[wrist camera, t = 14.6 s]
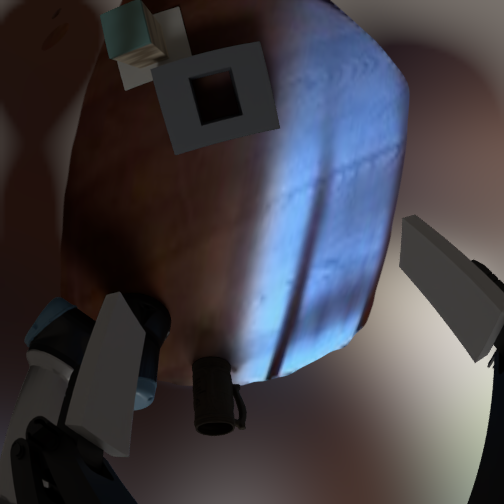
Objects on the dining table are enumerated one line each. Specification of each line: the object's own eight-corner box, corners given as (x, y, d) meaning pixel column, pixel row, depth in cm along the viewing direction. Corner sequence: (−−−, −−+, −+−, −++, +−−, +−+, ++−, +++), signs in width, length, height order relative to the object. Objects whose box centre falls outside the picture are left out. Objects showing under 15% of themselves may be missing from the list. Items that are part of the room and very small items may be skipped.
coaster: (125, 90, 38) (125, 90, 37) (111, 32, 32) (110, 31, 31) (194, 66, 38) (194, 66, 37) (179, 7, 32) (178, 6, 31)
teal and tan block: (140, 68, 36) (109, 58, 23) (132, 36, 33) (100, 15, 20) (169, 58, 36) (150, 41, 23) (161, 25, 33) (139, -2, 20)
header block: (179, 148, 45) (175, 155, 40) (157, 72, 37) (150, 69, 32) (272, 124, 45) (280, 128, 39) (254, 47, 37) (259, 41, 32)
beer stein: (184, 373, 74) (189, 435, 58) (197, 352, 70) (203, 420, 54) (233, 380, 80) (244, 438, 64) (249, 361, 76) (264, 423, 60)
